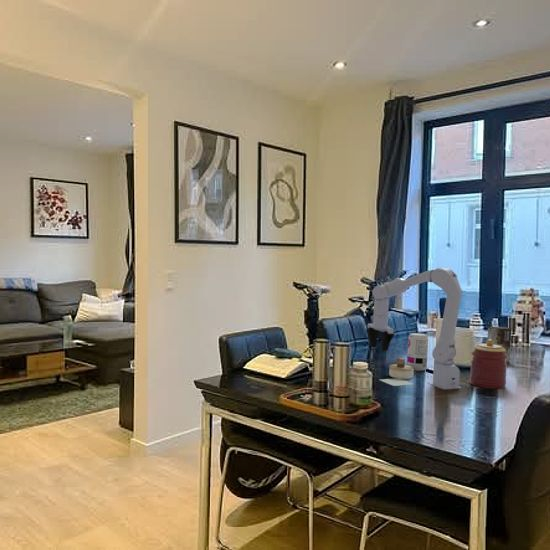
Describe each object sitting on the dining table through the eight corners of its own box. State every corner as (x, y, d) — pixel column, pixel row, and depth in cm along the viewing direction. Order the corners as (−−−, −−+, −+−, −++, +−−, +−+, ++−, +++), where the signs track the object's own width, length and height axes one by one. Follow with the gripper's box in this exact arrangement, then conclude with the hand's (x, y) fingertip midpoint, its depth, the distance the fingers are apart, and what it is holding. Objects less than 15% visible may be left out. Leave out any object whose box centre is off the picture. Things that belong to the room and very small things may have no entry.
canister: (462, 383, 203) (465, 338, 202) (480, 379, 211) (482, 335, 210) (495, 391, 193) (498, 343, 192) (512, 386, 201) (515, 340, 200)
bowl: (417, 379, 207) (418, 370, 207) (398, 380, 203) (399, 371, 203) (403, 374, 215) (404, 365, 215) (385, 375, 212) (385, 366, 212)
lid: (414, 371, 204) (415, 361, 204) (391, 370, 204) (391, 360, 204) (409, 367, 213) (410, 357, 213) (387, 365, 213) (387, 356, 213)
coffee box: (505, 360, 255) (507, 326, 255) (509, 362, 249) (511, 328, 248) (485, 358, 256) (487, 325, 256) (489, 361, 250) (491, 327, 249)
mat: (414, 385, 196) (414, 384, 196) (393, 386, 193) (393, 385, 193) (399, 379, 205) (399, 378, 205) (378, 380, 201) (378, 379, 201)
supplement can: (404, 369, 224) (406, 334, 223) (409, 366, 231) (411, 332, 231) (424, 372, 220) (426, 336, 220) (428, 368, 227) (430, 334, 227)
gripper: (400, 317, 206) (398, 351, 207) (378, 312, 219) (376, 345, 220) (385, 317, 203) (383, 352, 204) (364, 312, 216) (362, 345, 217)
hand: (379, 348), depth 212 cm, fingers open, 7 cm apart
